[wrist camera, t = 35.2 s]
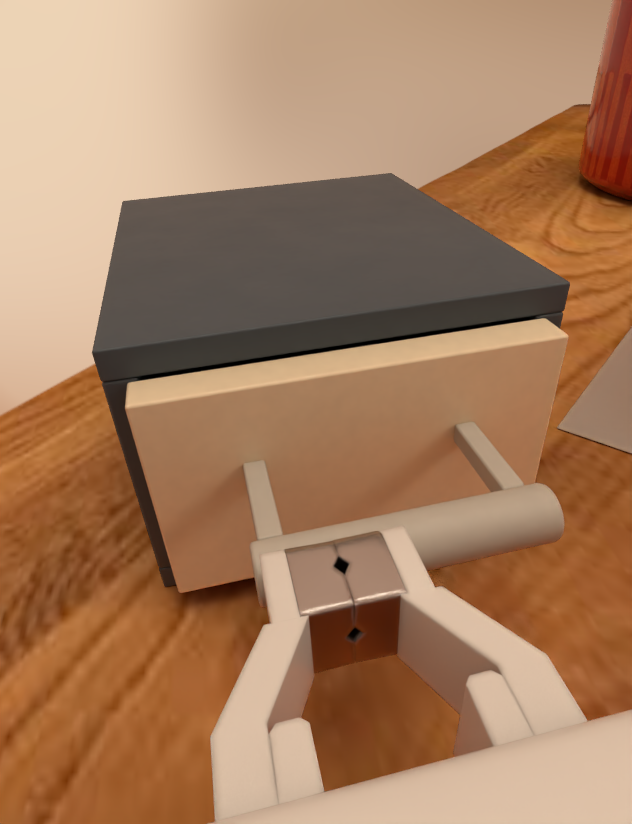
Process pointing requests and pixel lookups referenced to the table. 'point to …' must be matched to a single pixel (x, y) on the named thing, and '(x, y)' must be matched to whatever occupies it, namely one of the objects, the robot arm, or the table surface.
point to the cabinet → (295, 283)
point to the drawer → (353, 449)
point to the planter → (611, 110)
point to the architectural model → (606, 402)
